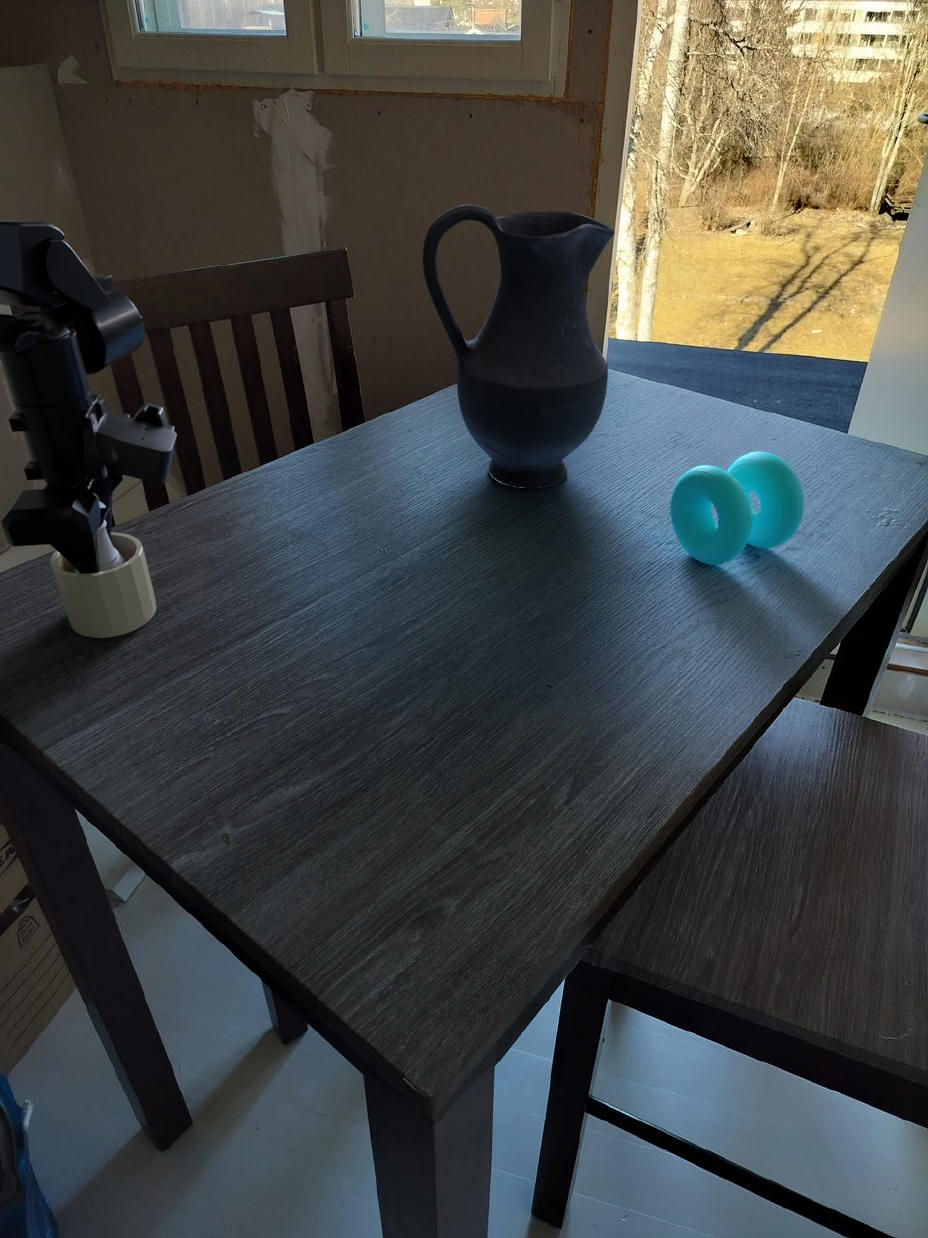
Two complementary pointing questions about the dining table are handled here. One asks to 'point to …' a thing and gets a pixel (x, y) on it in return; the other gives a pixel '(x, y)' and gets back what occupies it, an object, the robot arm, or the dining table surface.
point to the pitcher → (529, 343)
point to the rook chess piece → (106, 549)
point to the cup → (107, 592)
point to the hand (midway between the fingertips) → (99, 564)
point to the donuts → (736, 507)
